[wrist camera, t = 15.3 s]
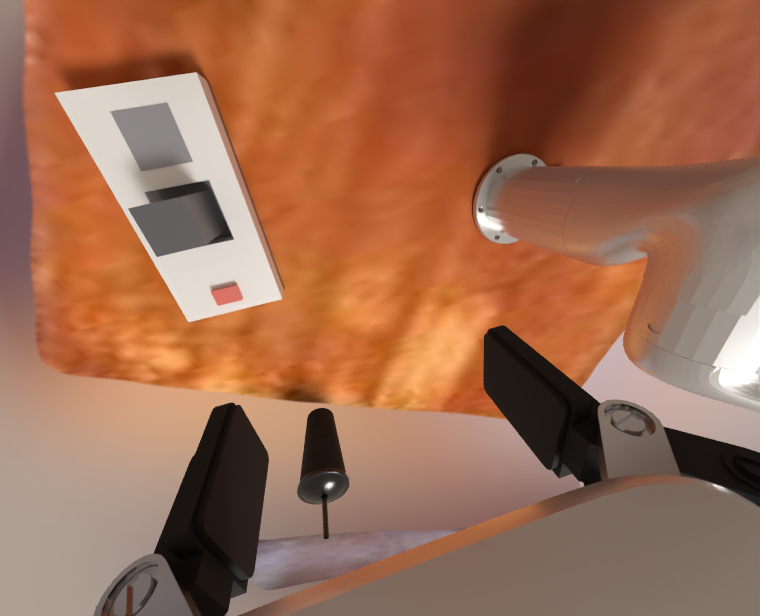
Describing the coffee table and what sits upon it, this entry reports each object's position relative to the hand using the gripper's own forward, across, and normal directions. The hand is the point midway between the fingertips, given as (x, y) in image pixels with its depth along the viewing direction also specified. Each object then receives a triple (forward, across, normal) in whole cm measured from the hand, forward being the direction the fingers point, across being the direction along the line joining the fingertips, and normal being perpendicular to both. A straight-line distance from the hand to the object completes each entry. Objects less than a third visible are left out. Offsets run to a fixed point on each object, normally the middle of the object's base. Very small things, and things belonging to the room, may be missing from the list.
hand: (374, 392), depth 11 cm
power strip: (+32, +14, -5) cm, 36 cm away
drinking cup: (+32, +10, +34) cm, 48 cm away
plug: (+31, +14, -5) cm, 35 cm away
